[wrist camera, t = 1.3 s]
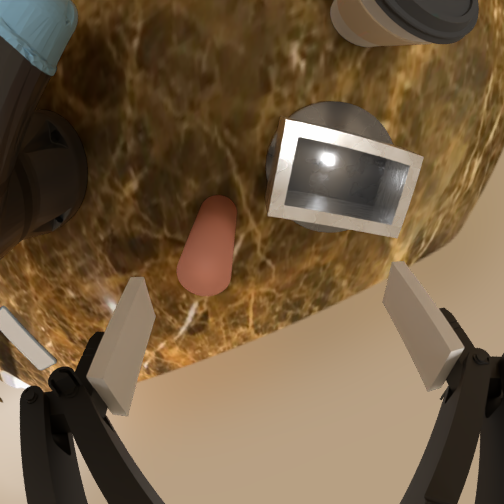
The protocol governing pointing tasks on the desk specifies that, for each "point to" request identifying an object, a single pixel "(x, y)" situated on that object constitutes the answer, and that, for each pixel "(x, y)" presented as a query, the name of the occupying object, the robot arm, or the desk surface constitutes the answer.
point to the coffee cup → (403, 21)
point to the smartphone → (24, 340)
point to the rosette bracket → (339, 171)
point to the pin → (209, 248)
